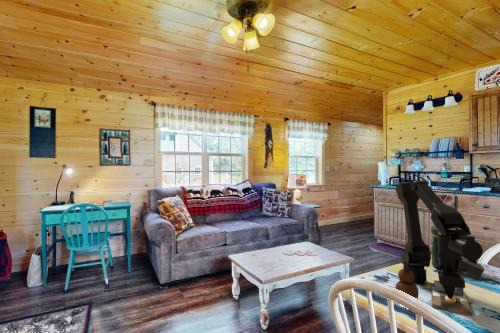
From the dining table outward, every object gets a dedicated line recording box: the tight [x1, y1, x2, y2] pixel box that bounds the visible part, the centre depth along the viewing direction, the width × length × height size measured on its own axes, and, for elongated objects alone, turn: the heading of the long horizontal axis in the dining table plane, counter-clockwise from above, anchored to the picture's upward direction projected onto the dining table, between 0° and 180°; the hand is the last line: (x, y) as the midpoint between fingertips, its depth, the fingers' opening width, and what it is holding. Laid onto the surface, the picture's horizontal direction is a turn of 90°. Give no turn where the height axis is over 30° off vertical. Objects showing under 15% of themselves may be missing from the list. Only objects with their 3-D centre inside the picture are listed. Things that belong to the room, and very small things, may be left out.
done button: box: [445, 296, 456, 303], centre depth 87 cm, size 3×3×2 cm
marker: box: [430, 279, 465, 296], centre depth 95 cm, size 9×3×3 cm, turn 57°
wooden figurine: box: [394, 261, 419, 300], centre depth 90 cm, size 7×6×15 cm
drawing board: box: [430, 286, 473, 316], centre depth 91 cm, size 10×15×2 cm, turn 147°
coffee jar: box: [430, 224, 439, 270], centre depth 121 cm, size 10×8×19 cm
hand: (450, 297), depth 87 cm, fingers closed, pressing on done button
